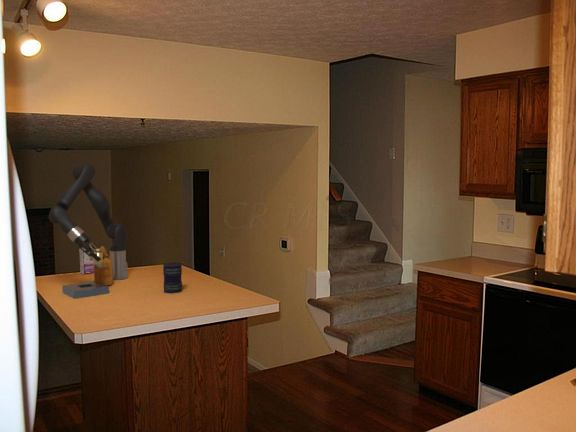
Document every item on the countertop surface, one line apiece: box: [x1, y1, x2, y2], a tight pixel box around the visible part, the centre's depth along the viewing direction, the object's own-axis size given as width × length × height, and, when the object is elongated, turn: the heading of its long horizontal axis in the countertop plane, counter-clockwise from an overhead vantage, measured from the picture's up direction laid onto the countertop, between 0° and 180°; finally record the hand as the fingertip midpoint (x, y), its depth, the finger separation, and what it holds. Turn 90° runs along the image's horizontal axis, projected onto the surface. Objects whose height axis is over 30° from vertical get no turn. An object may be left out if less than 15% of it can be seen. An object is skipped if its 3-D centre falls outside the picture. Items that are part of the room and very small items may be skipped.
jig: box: [61, 280, 110, 300], centre depth 283 cm, size 18×18×4 cm
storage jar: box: [162, 262, 183, 294], centre depth 287 cm, size 10×10×15 cm
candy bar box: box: [78, 247, 95, 275], centre depth 341 cm, size 11×5×16 cm, turn 143°
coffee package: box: [93, 245, 113, 286], centre depth 304 cm, size 10×12×22 cm
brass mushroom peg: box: [93, 247, 104, 269], centre depth 281 cm, size 6×6×10 cm
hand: (101, 259), depth 281 cm, fingers closed on brass mushroom peg, 4 cm apart
